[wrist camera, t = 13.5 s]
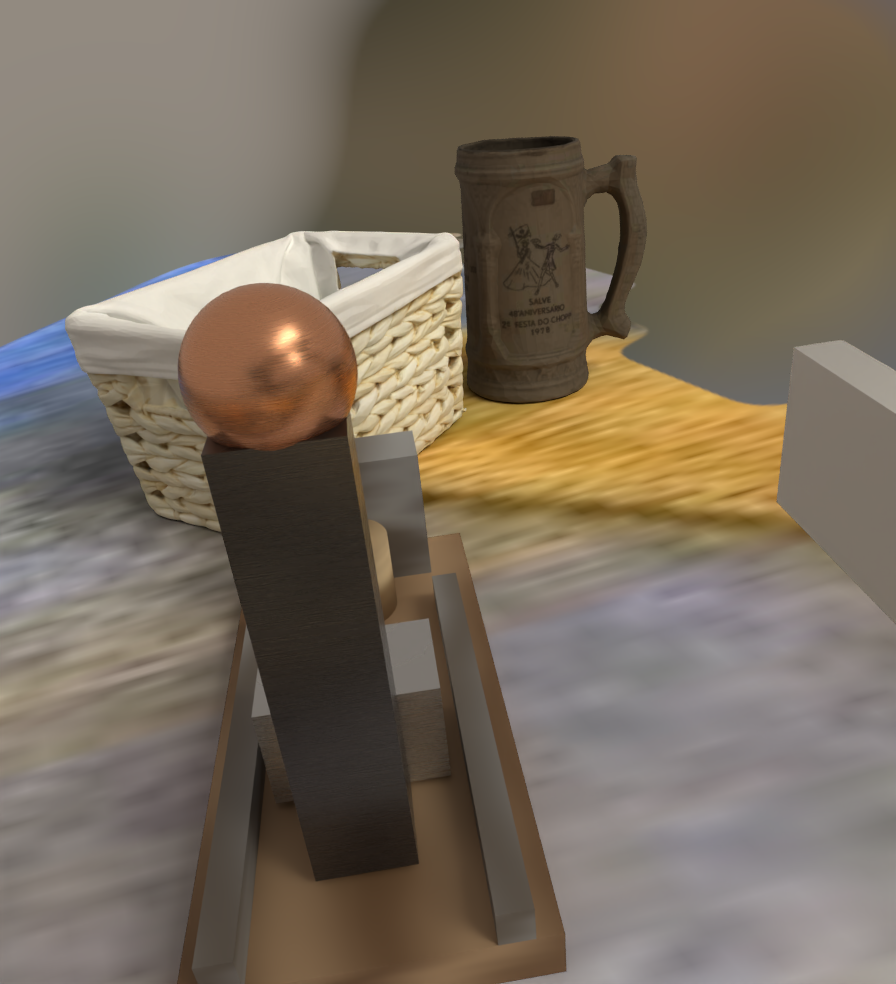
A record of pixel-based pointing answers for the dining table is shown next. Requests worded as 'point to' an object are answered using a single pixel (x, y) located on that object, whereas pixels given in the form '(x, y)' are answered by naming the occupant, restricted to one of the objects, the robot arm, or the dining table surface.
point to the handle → (312, 577)
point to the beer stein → (539, 263)
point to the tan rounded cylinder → (383, 568)
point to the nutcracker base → (436, 803)
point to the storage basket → (312, 269)
